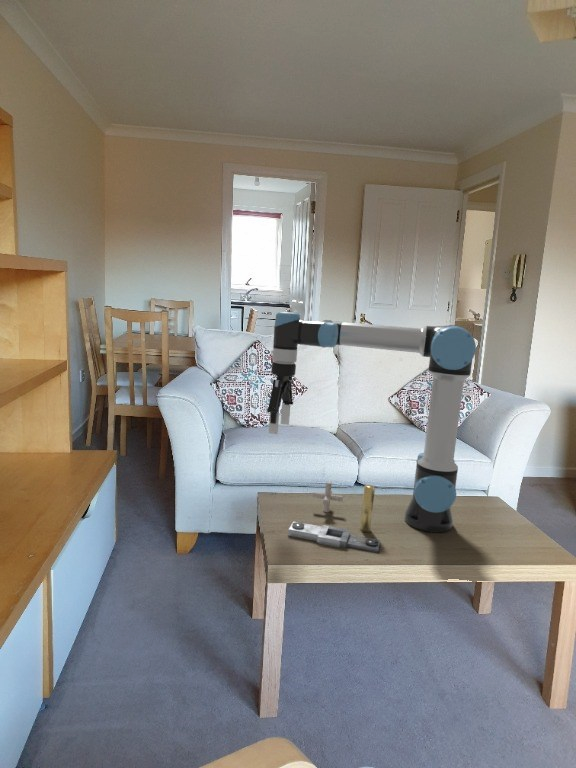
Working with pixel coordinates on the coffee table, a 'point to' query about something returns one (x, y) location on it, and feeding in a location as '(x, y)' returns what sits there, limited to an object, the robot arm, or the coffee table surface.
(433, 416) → the robot arm
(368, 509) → the pin
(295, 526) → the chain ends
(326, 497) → the pipe connector
